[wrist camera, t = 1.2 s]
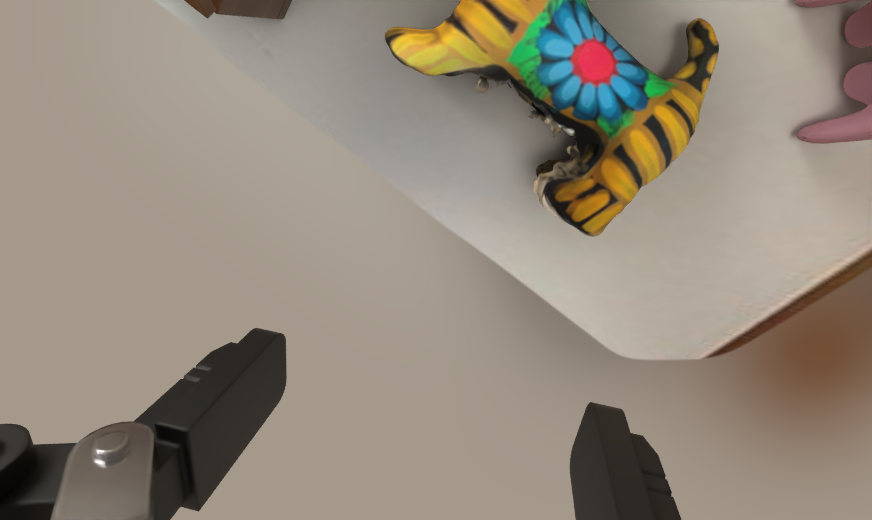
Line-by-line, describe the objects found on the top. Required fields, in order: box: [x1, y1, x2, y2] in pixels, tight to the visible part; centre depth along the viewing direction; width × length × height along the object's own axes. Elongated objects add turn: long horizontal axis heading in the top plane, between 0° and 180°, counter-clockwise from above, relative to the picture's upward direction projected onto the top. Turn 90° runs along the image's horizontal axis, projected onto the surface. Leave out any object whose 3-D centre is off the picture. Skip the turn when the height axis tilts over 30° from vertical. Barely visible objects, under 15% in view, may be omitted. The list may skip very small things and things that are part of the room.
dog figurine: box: [385, 0, 719, 236], centre depth 26 cm, size 20×12×18 cm
